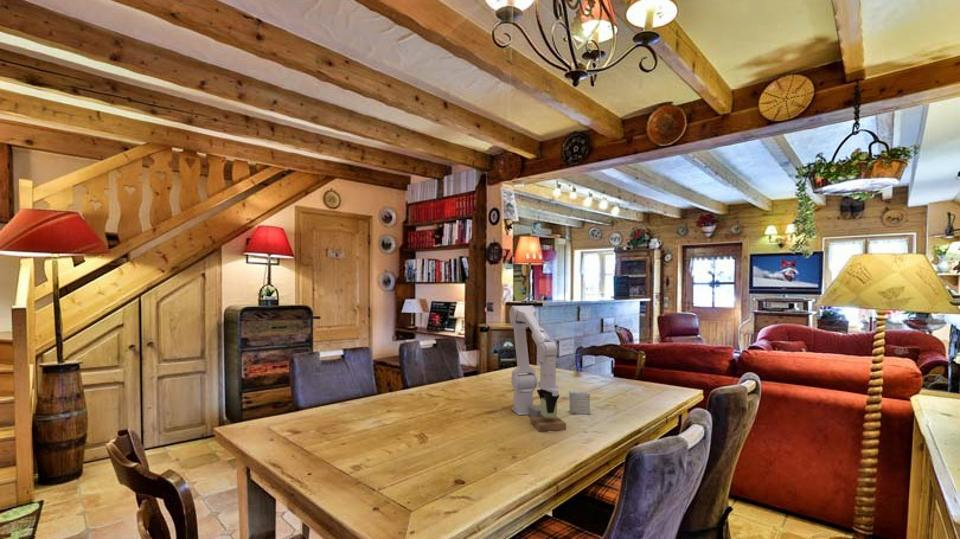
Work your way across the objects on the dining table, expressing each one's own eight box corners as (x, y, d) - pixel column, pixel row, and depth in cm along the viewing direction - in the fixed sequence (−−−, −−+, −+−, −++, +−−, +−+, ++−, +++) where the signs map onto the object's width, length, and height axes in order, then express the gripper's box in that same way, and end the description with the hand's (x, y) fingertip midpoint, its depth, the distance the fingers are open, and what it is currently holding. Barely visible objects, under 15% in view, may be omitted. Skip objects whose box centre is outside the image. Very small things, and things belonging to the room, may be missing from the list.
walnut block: (530, 425, 167) (530, 417, 167) (555, 423, 169) (555, 415, 169) (540, 433, 157) (540, 425, 157) (566, 431, 159) (566, 423, 159)
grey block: (528, 416, 177) (528, 406, 177) (543, 414, 179) (543, 404, 180) (537, 421, 170) (537, 411, 171) (552, 419, 173) (552, 409, 173)
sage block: (540, 413, 165) (541, 397, 165) (551, 413, 166) (552, 397, 166) (545, 417, 160) (545, 400, 161) (556, 416, 161) (557, 400, 162)
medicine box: (588, 411, 183) (588, 390, 183) (590, 414, 179) (590, 393, 179) (569, 411, 184) (569, 390, 184) (570, 414, 179) (570, 392, 180)
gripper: (566, 377, 157) (566, 415, 157) (550, 370, 172) (550, 405, 171) (547, 378, 156) (547, 417, 155) (533, 370, 170) (533, 406, 169)
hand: (547, 411), depth 163 cm, fingers closed on sage block, 4 cm apart
